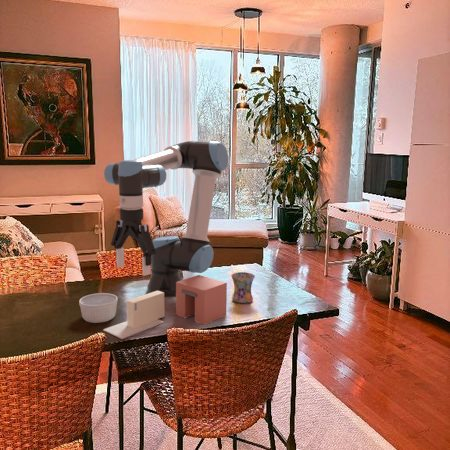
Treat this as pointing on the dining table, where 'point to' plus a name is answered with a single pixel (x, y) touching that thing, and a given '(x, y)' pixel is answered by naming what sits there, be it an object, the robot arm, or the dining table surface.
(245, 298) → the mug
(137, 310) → the cream white block
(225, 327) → the dining table surface
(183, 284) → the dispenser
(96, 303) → the ramekin
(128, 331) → the mat
